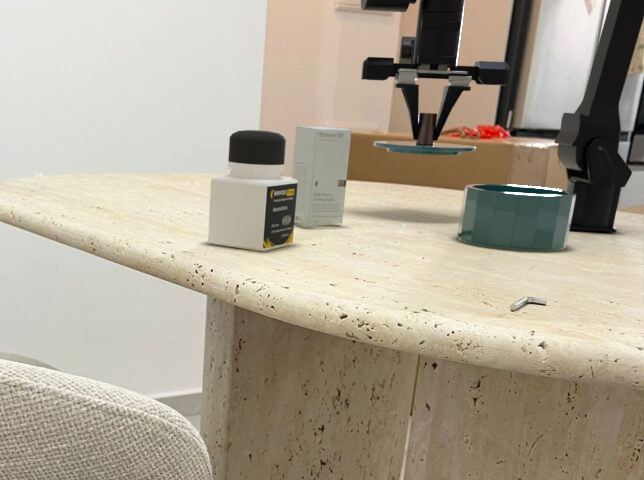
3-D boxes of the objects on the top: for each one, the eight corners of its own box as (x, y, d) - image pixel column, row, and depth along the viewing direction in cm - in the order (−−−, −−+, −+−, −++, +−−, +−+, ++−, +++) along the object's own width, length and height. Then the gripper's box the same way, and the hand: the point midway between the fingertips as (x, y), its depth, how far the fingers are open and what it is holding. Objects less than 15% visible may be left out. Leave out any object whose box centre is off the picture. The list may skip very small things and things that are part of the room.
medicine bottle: (263, 252, 100) (272, 133, 96) (206, 243, 104) (212, 129, 100) (293, 244, 106) (303, 132, 102) (238, 237, 110) (245, 128, 105)
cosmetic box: (307, 228, 119) (316, 127, 115) (285, 223, 123) (293, 125, 119) (344, 227, 123) (354, 128, 118) (321, 222, 126) (330, 126, 122)
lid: (468, 152, 134) (473, 114, 132) (481, 158, 122) (487, 116, 120) (371, 147, 136) (375, 109, 134) (374, 153, 123) (379, 111, 122)
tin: (552, 239, 121) (561, 187, 119) (576, 254, 109) (587, 198, 107) (452, 232, 122) (459, 181, 120) (465, 247, 111) (474, 191, 108)
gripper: (504, 21, 129) (486, 140, 135) (366, 16, 131) (354, 134, 137) (518, 14, 119) (499, 144, 124) (368, 9, 121) (356, 137, 126)
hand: (425, 140), depth 128 cm, fingers closed on lid, 2 cm apart
